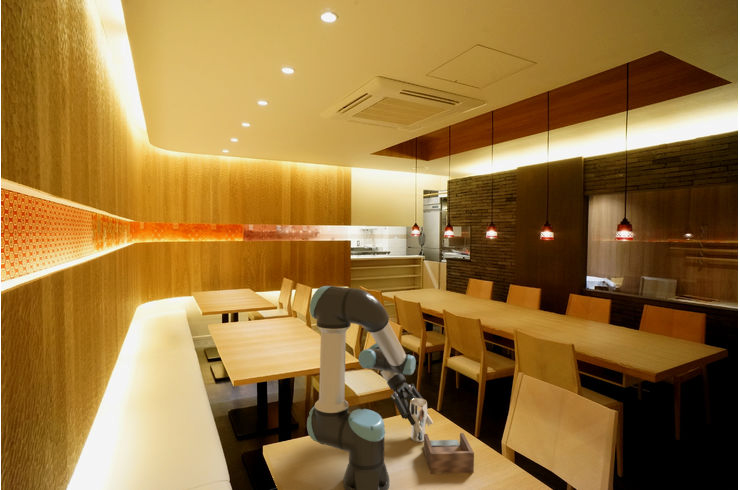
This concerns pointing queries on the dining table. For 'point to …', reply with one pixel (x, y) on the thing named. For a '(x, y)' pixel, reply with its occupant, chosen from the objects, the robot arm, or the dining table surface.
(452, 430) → the dining table surface
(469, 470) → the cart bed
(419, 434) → the beer glass
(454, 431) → the dining table surface
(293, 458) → the dining table surface
